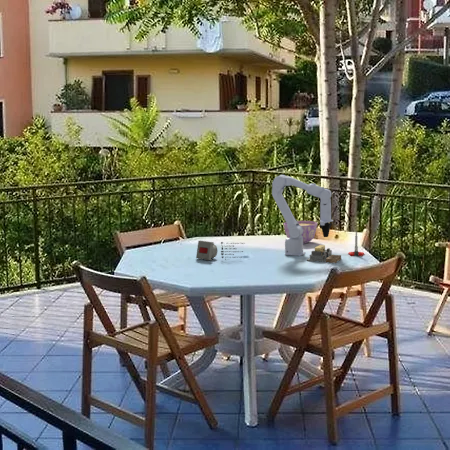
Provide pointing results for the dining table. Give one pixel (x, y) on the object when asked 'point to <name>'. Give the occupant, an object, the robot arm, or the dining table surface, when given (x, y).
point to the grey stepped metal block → (320, 255)
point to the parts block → (333, 258)
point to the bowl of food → (304, 230)
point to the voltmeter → (210, 250)
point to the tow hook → (356, 249)
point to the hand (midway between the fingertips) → (325, 236)
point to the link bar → (320, 248)
